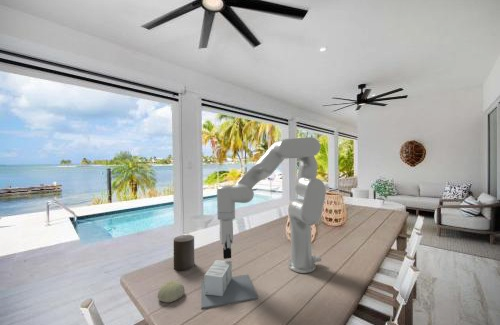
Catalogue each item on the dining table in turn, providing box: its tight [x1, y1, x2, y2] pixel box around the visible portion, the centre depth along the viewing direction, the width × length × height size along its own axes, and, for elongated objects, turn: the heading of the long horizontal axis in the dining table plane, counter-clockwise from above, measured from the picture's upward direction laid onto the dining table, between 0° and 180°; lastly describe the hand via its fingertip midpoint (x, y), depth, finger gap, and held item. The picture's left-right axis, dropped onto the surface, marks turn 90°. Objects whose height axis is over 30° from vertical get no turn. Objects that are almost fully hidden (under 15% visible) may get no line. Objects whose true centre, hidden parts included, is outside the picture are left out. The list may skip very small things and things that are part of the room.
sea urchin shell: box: [157, 280, 185, 304], centre depth 78 cm, size 9×8×8 cm
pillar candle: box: [173, 234, 195, 272], centre depth 101 cm, size 10×10×15 cm
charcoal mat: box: [200, 274, 259, 310], centre depth 80 cm, size 20×16×1 cm
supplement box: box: [203, 259, 233, 296], centre depth 82 cm, size 7×7×13 cm
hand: (227, 257), depth 88 cm, fingers closed
